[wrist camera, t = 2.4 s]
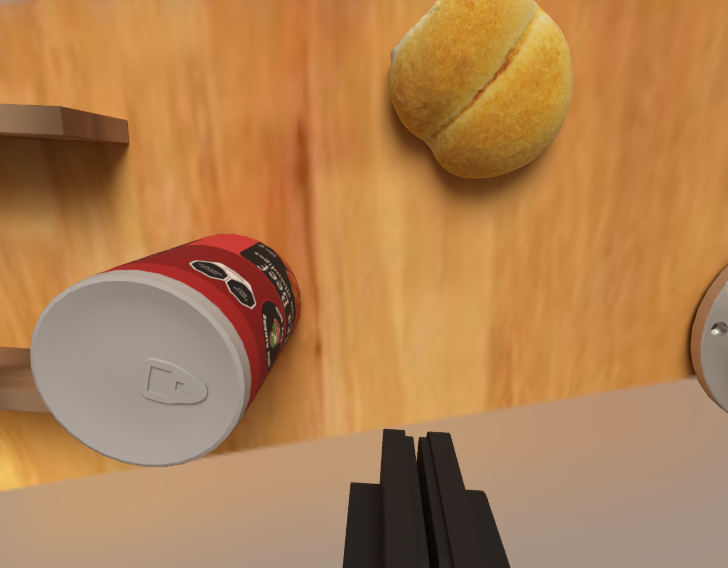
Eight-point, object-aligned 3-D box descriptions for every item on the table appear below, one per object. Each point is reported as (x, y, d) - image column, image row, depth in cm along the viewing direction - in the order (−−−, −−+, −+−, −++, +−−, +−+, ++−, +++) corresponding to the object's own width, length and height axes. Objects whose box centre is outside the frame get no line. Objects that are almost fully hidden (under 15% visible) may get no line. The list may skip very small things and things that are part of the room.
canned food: (306, 353, 27) (253, 473, 16) (182, 351, 27) (48, 467, 16) (301, 231, 25) (236, 273, 14) (167, 231, 25) (5, 273, 14)
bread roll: (477, 206, 24) (494, 212, 20) (365, 86, 23) (360, 68, 19) (597, 92, 22) (641, 75, 18) (482, -44, 21) (503, -93, 17)
